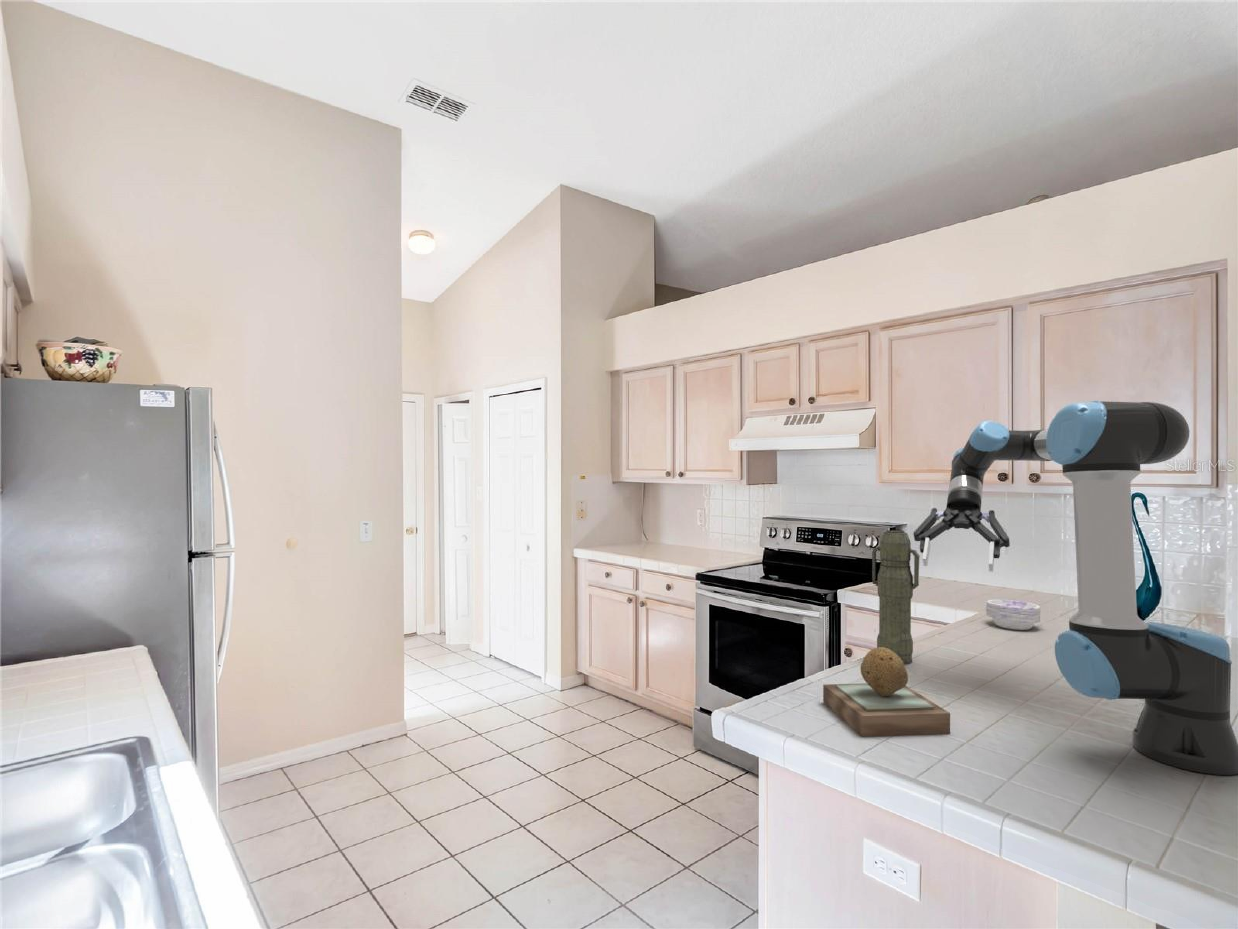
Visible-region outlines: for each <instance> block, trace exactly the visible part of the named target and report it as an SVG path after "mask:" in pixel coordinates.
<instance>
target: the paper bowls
mask: <svg viewBox="0 0 1238 929" xmlns="http://www.w3.org/2000/svg"><path fill="white" fill-rule="evenodd" d="M985 609H986V611H985V612H986V613H985V614H986V616H988V618H991V619H992V621H993V623H994V624H995V625H996V626H997V627H1000V628H1002V629H1007V630H1013V631H1014V630H1015V631H1026V630H1031V629H1032V628H1033V627H1034V624H1035V623H1040V622H1041V606H1040V605H1038V604H1035V603H1032V602H1027V601H1022V600H1021V601H1019V600H1012V599H1011V600H1010V599H987V601H986V607H985Z"/></svg>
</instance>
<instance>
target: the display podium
mask: <svg viewBox="0 0 1238 929" xmlns="http://www.w3.org/2000/svg"><path fill="white" fill-rule="evenodd" d="M822 689H823V690H822V691H823V692H822V693H823V696H822V697H823V698H822V703H823V705H825V706H826V707H827V708H829V709H830V710H831V711H833V713H834V714H836V715H837V716H838V717H839V718H840V719H841V720H842V721H844V722H845V723H846V724H847V725H848V726H849V727H850V728H851V729H853V730H854V731H855V732H856V733H857V734H858V735H860V736H861V737H862V738H867V737H894V736H918V735H921V736H922V735H947V734H948V735H949V734H951V712H950V711H947V710H946V709H944V708H942V707H941V706H940V705H938V704H937V703H934V702H933V701H932V700H930V699H928V698H927V697H925V696H923V695H922V694H920V693H918V692H917V691H916V690H914V689H912V688H910V687H908V686H907V685H906V686H905V687H904V688H902V689H900V690H898V691H896V692H895V693H893V694H892V695H890V696H887V697H884V696H881V695H879V694H877V693H876V692H875V691H874V690H873V689H872V688H871V687H870V686H869V685H868V684H867V683H866V682H865V683H835V684H834V683H831V684H826V683H825V684H823V686H822Z"/></svg>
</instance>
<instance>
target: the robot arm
mask: <svg viewBox="0 0 1238 929" xmlns="http://www.w3.org/2000/svg"><path fill="white" fill-rule="evenodd" d="M1190 431H1191V430H1190V427H1189V424H1188V422H1187V420H1186V418H1185V416H1183V414H1181V412H1179V411H1178V410H1177V409H1175V408H1173V407H1172V406H1169V405H1166V404H1162V403H1159V402H1153V401H1152V402H1151V401H1143V402H1142V401H1140V402H1135V401H1099V400H1094V401H1093V400H1092V401H1082V402H1073V403H1070V404H1068V405H1065V406H1064V407H1062V408H1061V409H1059V410H1058V412H1057V413H1056V414H1055V416H1054V418H1052V420H1051V422H1050V424H1049V426H1048V428H1045V429H1036V430H1032V429H1031V430H1013V429H1010V430H1009V429H1008V428H1007V427H1006V425H1005V424H1002V423H1000V422H996V421H995V420H985V421H982V422H980V423H978V425H977V426H976V427H975V428H974V430H973V431H972V432H971V434H970V435H969V437H968V440H967V441H966V444H965V445H964V447H962V448H960V449H958V450H956V451H955V453H954V455H953V457H952V458H953V459H952V460H951V471H950V480H949V485H948V493H947V502H946V508H945V509H944V510H943V511H942V510H938V509H937V508H936V507H933V508H932V509H931V511H930V514H929V515H928V516H927V517H926V518H925V519H924V521H923V522H922V523H921V524H920V525H919V526H918V527H917V528H916V529H915V530H914V531H913V532H912V533H913V538H914V541H915V542H919V551H920V553H921V554H922V562H923V567H928V564H929V556H930V552H931V550H930V549H931V541H932V540H934V539H935V538H937V537H938V536H940V535H941V534H942V533H944V532H946V531H949V530H951V529H952V528H954V529H965V530H969V529H972V530H973V531H975V532H976V533H977V534H979V535H981V537H983V539H984V540H986V541H987V542H988V543H989V553H988V556H989V557H988V571H989V572H992V573H993V572H994V564H995V562H994V561H995V559H1000V557H1001V548H1003V547H1005V548H1009V547H1010V543H1011V542H1010V537H1009V535H1008V534H1007V533H1006V530H1004V528H1003V527H1002V525H1001V524H1000V522H999V521H998V520H997V517H996V513H995V510H988V512H982V498H983V488H984V477H985V474H986V472H987V471H988V470H989V469H990V468H991V466H992V465H993V463H994V462H995V461H1012V462H1013V461H1025V462H1026V461H1027V462H1028V461H1031V462H1037V461H1039V462H1051V461H1052V462H1055V463H1056V464H1058V465H1061V467H1062V476H1064V477H1065V478H1066V479H1068V480H1069V481H1070V482H1071V483H1072V494H1073V516H1074V520H1073V521H1074V538H1075V542H1074V543H1075V562H1076V565H1075V566H1076V584H1077V585H1076V586H1077V605H1078V608H1077V609H1078V610H1077V612H1076V613H1074V614H1072V615H1071V616H1070V617H1069V618H1068V627H1069V630H1065V631H1063V632H1061V633H1060V634H1058V636H1057V639H1056V640H1055V642H1054V656H1055V661H1056V664H1057V666H1058V669H1059V671H1060V673H1061V675H1062V677H1063V678H1064V679H1065V681H1066V682H1067V683H1068V685H1069V686H1070V687H1071V688H1072V689H1073V690H1074V691H1076V692H1077V693H1079V694H1081V695H1083V696H1086V697H1088V698H1092V699H1093V698H1094V699H1105V700H1108V701H1109V700H1110V701H1112V700H1114V701H1115V700H1118V699H1119V700H1122V699H1123V700H1144V705H1143V706H1144V707H1143V709H1142V710H1141V712H1140V715H1139V717H1138V721H1137V724H1136V726H1135V727H1134V729H1133V731H1132V746H1133V747H1134V748H1135V750H1136V751H1138V752H1139V753H1141V754H1142V755H1144V756H1147V757H1148V758H1150V759H1153V760H1155V761H1158V762H1160V763H1163V764H1165V765H1169V766H1172V767H1175V768H1178V769H1179V768H1180V769H1182V770H1187V771H1190V772H1191V771H1192V772H1196V773H1197V772H1198V773H1202V774H1208V775H1217V776H1218V775H1219V776H1220V775H1223V776H1232V775H1238V740H1237V738H1236V737H1237V736H1236V734H1235V731H1234V729H1233V726H1232V723H1231V681H1232V680H1231V678H1232V677H1231V676H1232V674H1231V672H1232V670H1231V669H1232V664H1233V661H1232V660H1231V652H1230V645H1229V643H1228V642H1227V640H1225V639H1224V638H1223V637H1221V636H1219V635H1216V634H1213V633H1210V632H1206V631H1203V630H1198V629H1193V628H1189V627H1184V626H1180V625H1175V624H1168V623H1163V622H1155V621H1153V622H1152V621H1151V622H1150V621H1149V622H1145V621H1144V620H1142V619H1141V618H1140V617H1139V615H1138V605H1137V589H1136V588H1137V586H1136V568H1135V548H1134V546H1135V545H1134V529H1133V528H1134V527H1133V526H1134V525H1133V509H1132V507H1133V506H1132V489H1131V483H1132V481H1133V480H1134V479H1135V478H1136V477H1138V476H1139V475H1140V474H1141V472H1142V470H1141V465H1152V464H1159V463H1163V462H1166V461H1168V460H1171V459H1173V458H1175V457H1176V456H1178V455H1179V454H1180V453H1181V452H1182V451H1183V450H1184V449H1185V448H1186V446H1187V444H1188V442H1189V439H1190ZM942 517H943V518H942ZM941 518H942V520H941V521H940V519H941ZM982 519H984V520H985V522H987V523H989V525H990V527H991V529H992V530H993V532H992V530H990V529H989V528H988V527H987V526H985V524H983V523H982V522H981V521H982ZM937 521H939V522H938V523H937Z"/></svg>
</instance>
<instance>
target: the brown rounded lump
mask: <svg viewBox="0 0 1238 929" xmlns="http://www.w3.org/2000/svg"><path fill="white" fill-rule="evenodd" d="M860 674H861V677H862V678H863V680H864V681H865V683H867V684H868V685H869V686H870V687H871V688H872V689H873V690H874V691H875V692H876V693H877V694H879V695H881V696H884V697H887V696H890V695H892V694H893V693H895V692H896V691H898V690H900V689H902V688H904V687H905V686H907V684H908V680H909V676H908V675H909V674H908V672H907V669H906V666H905V665H904V663H903V661H902V660H901V658H900V657H899V656H898V655H897V654H896V653H894V652H893V651H891V650H890V649H888V648H884V647H877V646H876V647H874V648H872V649H871V650H869V651H868V652H867V653H866V655H865V656H864V657H863V659H862V663H861V664H860Z"/></svg>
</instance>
